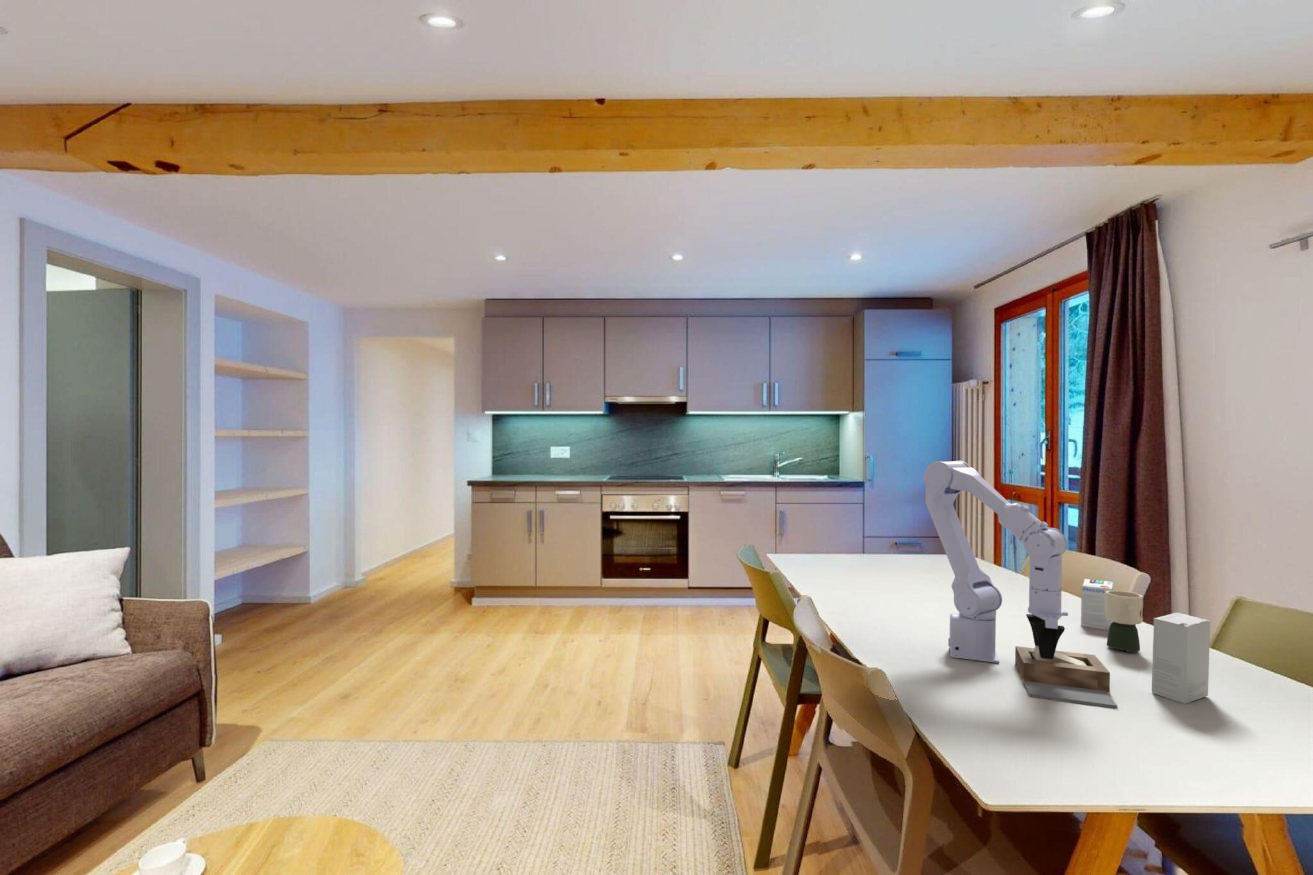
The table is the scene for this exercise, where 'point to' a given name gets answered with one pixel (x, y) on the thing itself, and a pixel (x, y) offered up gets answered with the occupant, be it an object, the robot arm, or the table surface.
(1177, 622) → the skincare box
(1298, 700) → the table surface
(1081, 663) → the birch bar
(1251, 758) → the table surface
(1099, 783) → the table surface
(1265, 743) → the table surface
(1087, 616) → the light bulb box
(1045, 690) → the slate mat
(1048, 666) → the walnut board
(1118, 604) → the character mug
